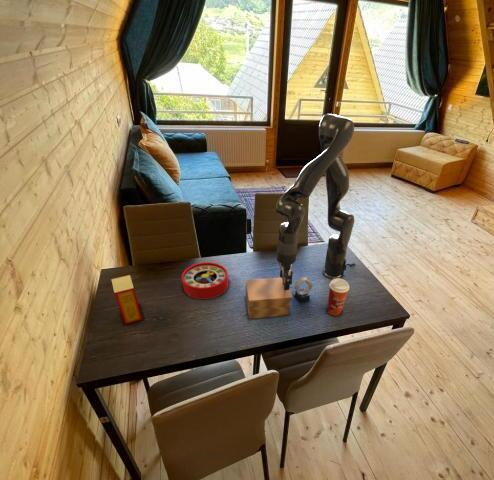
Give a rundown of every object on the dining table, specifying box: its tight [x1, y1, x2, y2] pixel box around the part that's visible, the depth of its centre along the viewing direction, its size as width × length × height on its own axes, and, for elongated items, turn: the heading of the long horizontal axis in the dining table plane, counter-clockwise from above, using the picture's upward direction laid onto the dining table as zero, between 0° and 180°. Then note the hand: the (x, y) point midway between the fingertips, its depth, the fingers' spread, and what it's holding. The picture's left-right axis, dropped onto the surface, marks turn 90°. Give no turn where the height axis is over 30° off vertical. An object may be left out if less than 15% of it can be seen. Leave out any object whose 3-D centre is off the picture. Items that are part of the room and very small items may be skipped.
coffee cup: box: [327, 277, 350, 317], centre depth 132 cm, size 8×8×15 cm
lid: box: [245, 276, 294, 302], centre depth 129 cm, size 18×14×5 cm
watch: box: [294, 276, 314, 304], centre depth 138 cm, size 6×8×11 cm
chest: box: [245, 286, 291, 320], centre depth 133 cm, size 17×14×9 cm
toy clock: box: [181, 261, 229, 300], centre depth 143 cm, size 20×6×20 cm
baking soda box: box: [110, 274, 144, 325], centre depth 122 cm, size 10×6×16 cm
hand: (284, 283), depth 130 cm, fingers open, 8 cm apart
